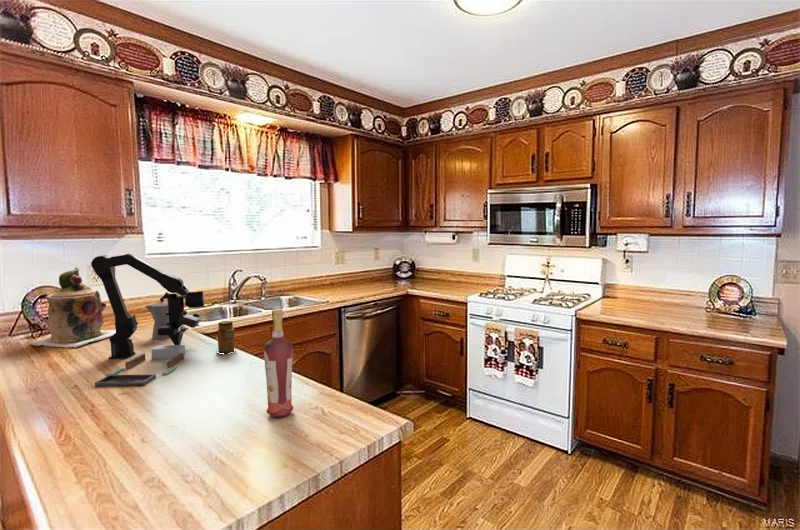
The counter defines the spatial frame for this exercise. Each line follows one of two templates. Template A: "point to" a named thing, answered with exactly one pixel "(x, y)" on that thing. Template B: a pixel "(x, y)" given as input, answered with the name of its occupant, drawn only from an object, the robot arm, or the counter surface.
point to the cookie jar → (74, 314)
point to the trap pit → (125, 380)
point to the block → (167, 351)
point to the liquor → (278, 369)
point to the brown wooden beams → (141, 358)
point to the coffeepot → (159, 317)
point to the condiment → (226, 338)
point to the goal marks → (123, 369)
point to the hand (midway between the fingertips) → (177, 347)
